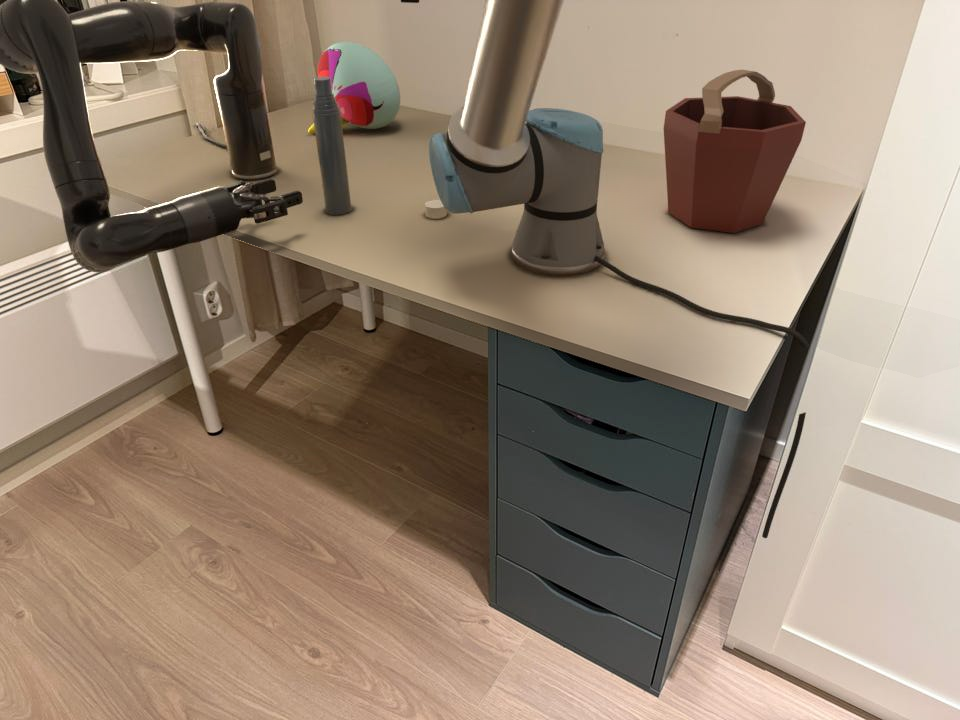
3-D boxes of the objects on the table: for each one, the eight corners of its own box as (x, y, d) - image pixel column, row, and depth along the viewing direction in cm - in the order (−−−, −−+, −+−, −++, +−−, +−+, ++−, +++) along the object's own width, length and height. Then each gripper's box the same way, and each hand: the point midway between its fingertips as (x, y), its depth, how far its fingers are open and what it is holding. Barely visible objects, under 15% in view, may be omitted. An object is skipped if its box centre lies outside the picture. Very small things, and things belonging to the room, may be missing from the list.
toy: (277, 110, 181) (275, 51, 163) (352, 72, 191) (358, 13, 173) (336, 175, 178) (341, 122, 160) (410, 134, 188) (421, 79, 170)
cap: (430, 220, 130) (430, 209, 129) (422, 213, 133) (421, 202, 132) (450, 216, 132) (449, 205, 131) (441, 209, 135) (441, 198, 134)
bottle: (324, 207, 136) (306, 76, 123) (349, 204, 138) (334, 74, 124) (327, 216, 132) (309, 82, 119) (353, 213, 134) (338, 80, 120)
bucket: (710, 250, 119) (740, 96, 105) (622, 208, 134) (638, 69, 120) (804, 218, 129) (843, 75, 115) (713, 183, 145) (736, 53, 131)
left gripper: (219, 205, 109) (307, 179, 119) (177, 183, 118) (262, 160, 127) (229, 249, 114) (313, 221, 123) (187, 225, 122) (269, 200, 132)
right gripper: (425, -165, 111) (432, -14, 123) (356, -175, 91) (371, 6, 103) (471, -167, 109) (473, -13, 121) (409, -177, 89) (419, 8, 101)
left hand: (287, 190), depth 125 cm, fingers open, 8 cm apart
